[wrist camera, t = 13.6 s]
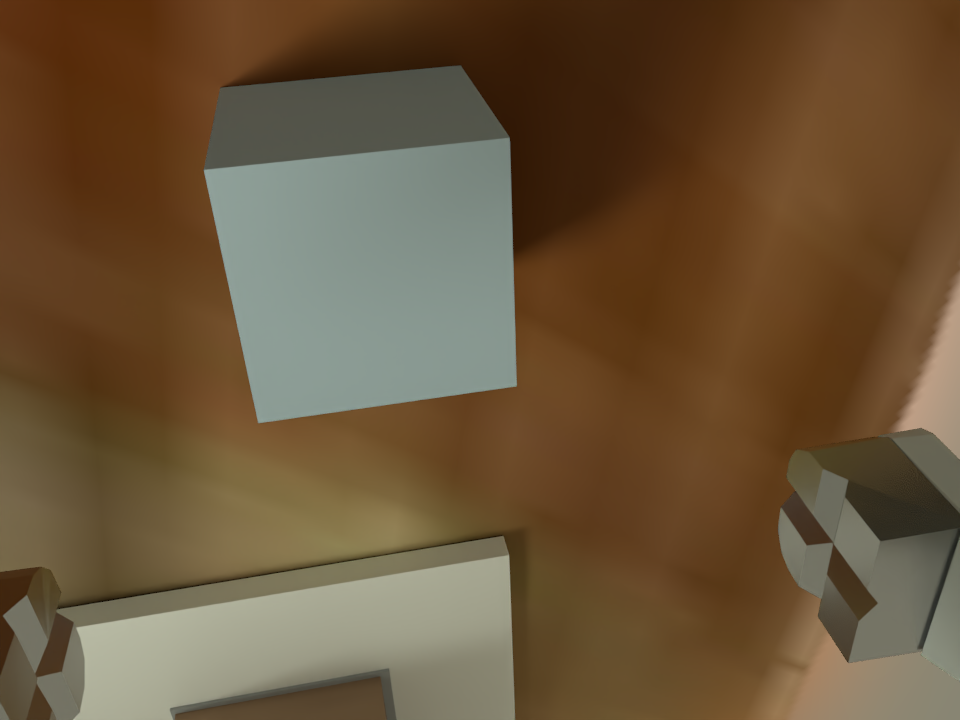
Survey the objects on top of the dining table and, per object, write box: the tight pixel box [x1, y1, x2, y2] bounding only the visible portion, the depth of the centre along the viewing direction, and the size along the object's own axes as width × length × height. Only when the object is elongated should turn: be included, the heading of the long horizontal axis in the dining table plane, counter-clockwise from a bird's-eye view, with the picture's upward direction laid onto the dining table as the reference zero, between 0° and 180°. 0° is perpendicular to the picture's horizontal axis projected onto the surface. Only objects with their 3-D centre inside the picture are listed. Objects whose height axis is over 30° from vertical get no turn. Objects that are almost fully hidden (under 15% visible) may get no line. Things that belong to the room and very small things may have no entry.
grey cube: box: [204, 65, 517, 423], centre depth 18 cm, size 5×5×5 cm
